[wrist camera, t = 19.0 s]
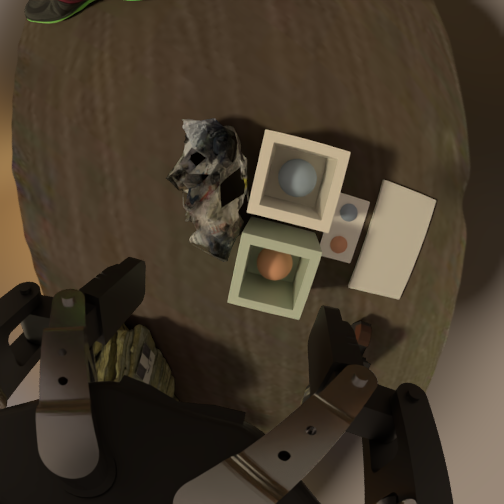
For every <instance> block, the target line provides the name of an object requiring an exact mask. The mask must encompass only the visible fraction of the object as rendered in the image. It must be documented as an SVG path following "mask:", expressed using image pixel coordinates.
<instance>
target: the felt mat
mask: <svg viewBox="0 0 504 504" xmlns="http://www.w3.org/2000/svg"><path fill="white" fill-rule="evenodd" d="M435 203H436V200H434V199H432V198H430V197H427V196H425V195H422V194H420V193H418V192H415V191H413V190H410V189H408V188H405V187H403V186H400V185H397V184H395V183H392V182H389V181H387V180H384V179H383V181H382V184H381V188H380V191H379V195H378V199H377V202H376V205H375V209H374V212H373V215H372V218H371V222H370V225H369V228H368V231H367V234H366V237H365V240H364V243H363V246H362V249H361V252H360V254H359V257H358V260H357V263H356V266H355V268H354V271H353V274H352V276H351V279H350V281H349V284H348V287H349V288H352V289H357V290H361V291H365V292H369V293H374V294H378V295H382V296H386V297H391V298H395V299H400V297H401V295H402V292H403V290H404V288H405V286H406V283H407V281H408V279H409V276H410V274H411V272H412V269H413V267H414V264H415V262H416V259H417V257H418V254H419V251H420V249H421V246H422V243H423V240H424V237H425V235H426V232H427V229H428V226H429V223H430V220H431V216H432V213H433V210H434V207H435Z"/></svg>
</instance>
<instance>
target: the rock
mask: <svg viewBox="0 0 504 504" xmlns="http://www.w3.org/2000/svg"><path fill="white" fill-rule="evenodd" d="M93 347H94V354H95V362H96V370H97V377H98V382H100V381H115V382H120V381H121V379H122V378H123V376H124V375H126V376H129V377H131V378H134V379H136V380H139V381H141V382H144V383H147V384H149V385H152V386H153V387H155V388H157V389H158V390H160V391H161V392H163V393H165V394H166V395H168V396H170V397H172V398H173V399H175V400H177V401H179V400H178V399H177V397H176V396H175V395H174V377H173V376H172V375H171V370H170V367H169V365H168V363H167V362H166V360H165V358H163V355H162V353H161V351H160V350H159V349H156V348H155V343H154V341H153V338H152V336H151V334H150V330H148V329H147V328H146V327H144V326H143V325H140V324H138V325H136V326H135V328H133V329H131V330H129V329H128V328H127V327H126V326H125V324H123V325H122V326H121V327H120V328H119V330H118V331H117V332H116V333H115V334H114V336H113V337H112V338H111V339H110V340H109V342H108V343H107V344H106V345H104V344H102V343H99V342H97V341H96V342H95V343H94V344H93Z"/></svg>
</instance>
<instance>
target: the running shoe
mask: <svg viewBox="0 0 504 504" xmlns="http://www.w3.org/2000/svg"><path fill="white" fill-rule="evenodd" d="M93 1H95V0H29V2H28V3H27V5H26V7H25V15H26V18H27V19H28V20H29V21H32V22H39V23H57V22H60V21H62V20H65V19H67V18H69V17H70V16H72V15H74V14H75V13H77V12H79V11H81V10H82V9H83V8H85V7H86V6H87V5H88V4H89V3H91V2H93ZM128 1H140V0H128Z"/></svg>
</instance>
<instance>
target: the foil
mask: <svg viewBox="0 0 504 504" xmlns="http://www.w3.org/2000/svg"><path fill="white" fill-rule="evenodd" d="M182 120H183V121H184V125H183V128H184V130H185V132H186V135H185V137H186V139H185V141H184V143H185V146H184V147H185V148H184V152H183V154H182V156H181V158H180V160H179V161H178V163H177V164H176V165H175V167H174V168H173V169H172V171H171V172H170V173H169V174H168V176H167V178H166V179H167V180H169V181H170V182H171V183H172V184H173V185H174V186H175V187H176V188H177V189H178V190H182V191H184V192H186V193H188V195H187V201H186V203H185V206H184V199H183V207H184V209H185V210H186V214H185V215H186V216H187V218H186V220H185V221H187V222H188V221H189V220H190V219H191V220H190V221H191V222H193V223H194V226H195V227H196V230H197V231H196V232H194V233H193V234H192V235H191V237H190V239H189V240H190V244H191V243H195V244H199V245H202V246H204V247H205V248H206V249H207V250H208V251H209V252H210V253H211V254H210V253H208V252H206V251H204V250H203V251H204V252H206V253H208V254H210V255H211V256H213V257H215V258H217V259H219V260H221V261H223V262H225V261H228V258H229V255H230V252H231V249H232V246H233V244H234V242H235V240H236V238H237V236H238V235H239V233H240V231H241V229H242V227H243V224H244V221H243V220H242V218H241V216H240V215H239V213H238V211H239V209H240V207H241V206H242V204H243V200H244V197H245V194H246V192H247V159H246V157H245V156H244V155H243V154H242V153H241V142H240V140H239V137H238V134H237V132H236V131H235V129H234V127H233V126H228V125H227V126H222V125H221V124H220V123H219V122H218V121H217V120H216V119H215V118H213V119H207V120H202V121H196V120H192V119H182ZM234 135H235V136H236V138H237V142H238V143H237V147H236V151H235V155H234V144H235V141H234V140H233V139H232V137H231V136H234ZM196 152H199V153H200V154H202V155H203V156H204V157H206V158H205V159H204V160H203V161H202V162H201V163H200V164H199V165H197V166H195V164H194V163H193V162H192V161H191V160H190V157H191V155H192V154H194V153H196ZM233 158H234V161H233ZM240 167H241V179H243V180H244V183H245V190H244V194H243V195H241V196H240V197H238V198H236V199H235V200H233V201H232V202H230V203H229V204H227V205H225V206H224V207H222V208H221V196H220V191H221V185H220V184H221V183H222V182H223V181H224V180H225V179H226V178H227V177H228V176H230V175H231V174H232V173H234V172H235V171H236V170H238V169H239V168H240ZM201 174H210V175H209V176H208V177H207V178H206V179H205V180H204V181H203V179H202V176H201ZM177 175H178V176H177ZM247 198H248V204H249V189H248V194H247ZM197 248H198V247H197ZM199 249H200V248H199ZM201 250H202V249H201ZM212 254H213V255H212Z"/></svg>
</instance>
